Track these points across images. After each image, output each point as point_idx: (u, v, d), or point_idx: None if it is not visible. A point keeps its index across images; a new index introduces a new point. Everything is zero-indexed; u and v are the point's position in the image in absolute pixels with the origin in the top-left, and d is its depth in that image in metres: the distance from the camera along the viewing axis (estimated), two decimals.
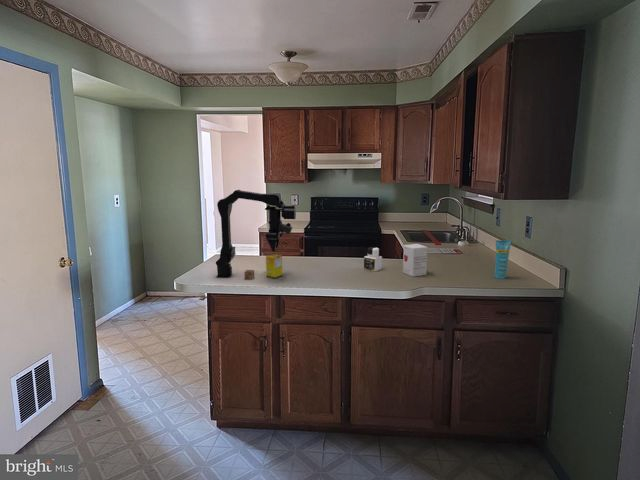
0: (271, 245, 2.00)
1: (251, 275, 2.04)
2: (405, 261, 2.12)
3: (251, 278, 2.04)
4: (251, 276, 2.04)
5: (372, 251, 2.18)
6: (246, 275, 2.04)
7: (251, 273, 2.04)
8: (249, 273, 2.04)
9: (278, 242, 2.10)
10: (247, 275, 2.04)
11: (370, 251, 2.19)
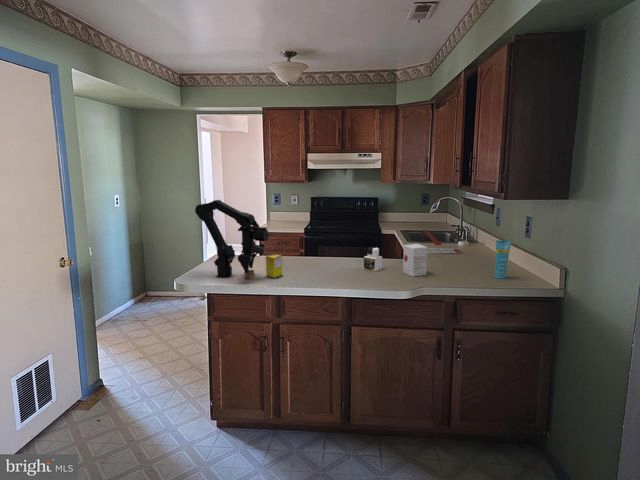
0: (244, 267, 2.00)
1: (251, 275, 2.04)
2: (405, 261, 2.12)
3: (251, 278, 2.04)
4: (251, 276, 2.04)
5: (372, 251, 2.18)
6: (246, 275, 2.04)
7: (251, 273, 2.04)
8: (248, 273, 2.04)
9: (252, 262, 2.10)
10: (247, 275, 2.04)
11: (370, 251, 2.19)
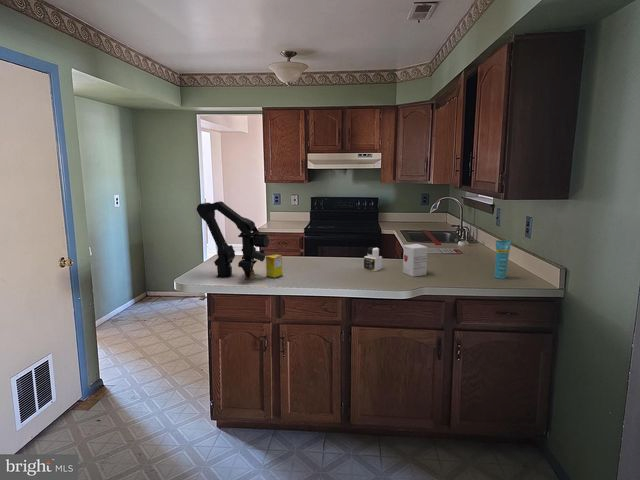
0: (245, 271, 2.03)
1: (251, 274, 2.04)
2: (405, 261, 2.12)
3: (251, 278, 2.04)
4: (251, 276, 2.04)
5: (372, 251, 2.18)
6: None
7: (251, 273, 2.04)
8: None
9: None
10: None
11: (370, 251, 2.19)
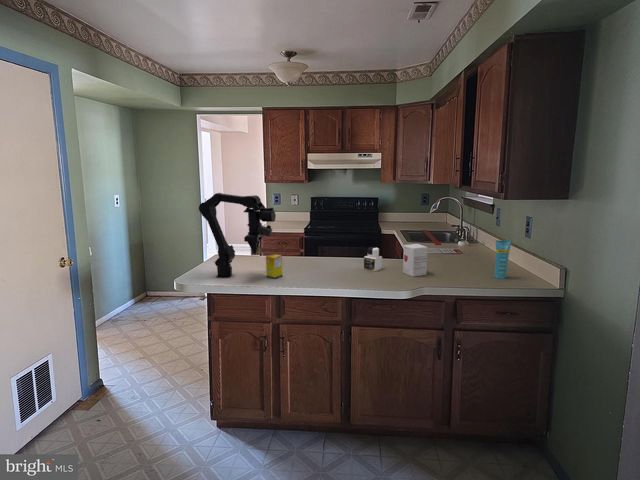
0: (252, 247, 2.01)
1: (257, 250, 2.02)
2: (405, 261, 2.12)
3: (257, 253, 2.03)
4: (257, 251, 2.02)
5: (372, 251, 2.18)
6: None
7: (257, 248, 2.02)
8: None
9: None
10: None
11: (370, 251, 2.19)
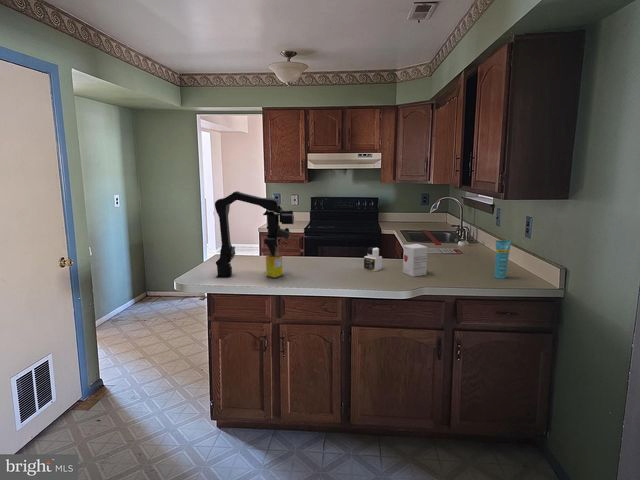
0: (270, 249, 2.04)
1: (275, 252, 2.05)
2: (405, 261, 2.12)
3: (276, 255, 2.05)
4: (276, 253, 2.05)
5: (372, 251, 2.18)
6: None
7: (276, 250, 2.05)
8: None
9: None
10: None
11: (370, 251, 2.19)
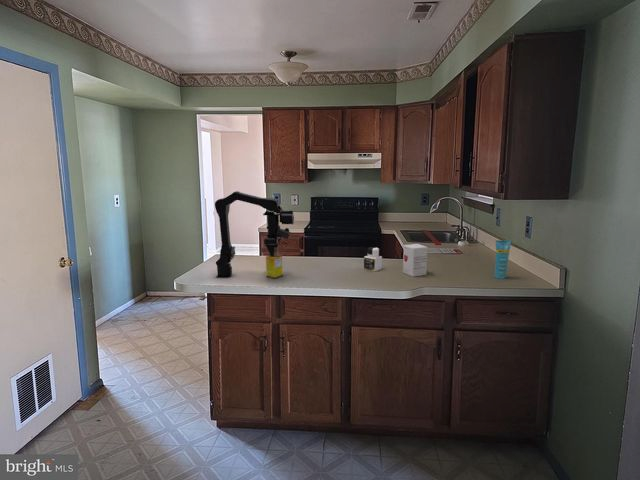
0: (270, 250, 2.01)
1: (275, 252, 2.05)
2: (405, 261, 2.12)
3: (276, 255, 2.05)
4: (276, 253, 2.05)
5: (372, 251, 2.18)
6: None
7: (276, 250, 2.05)
8: None
9: None
10: None
11: (370, 251, 2.19)
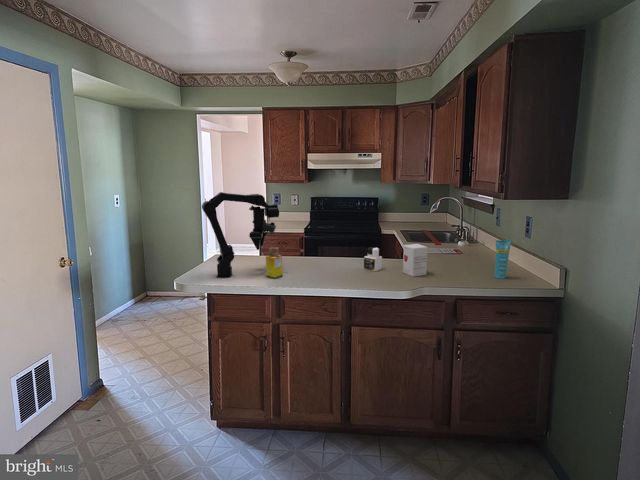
0: (255, 243, 2.10)
1: (276, 252, 2.05)
2: (405, 261, 2.12)
3: (276, 255, 2.05)
4: (276, 253, 2.05)
5: (372, 251, 2.18)
6: (271, 252, 2.05)
7: (276, 250, 2.05)
8: (273, 249, 2.05)
9: (263, 241, 2.20)
10: (271, 252, 2.05)
11: (370, 251, 2.19)
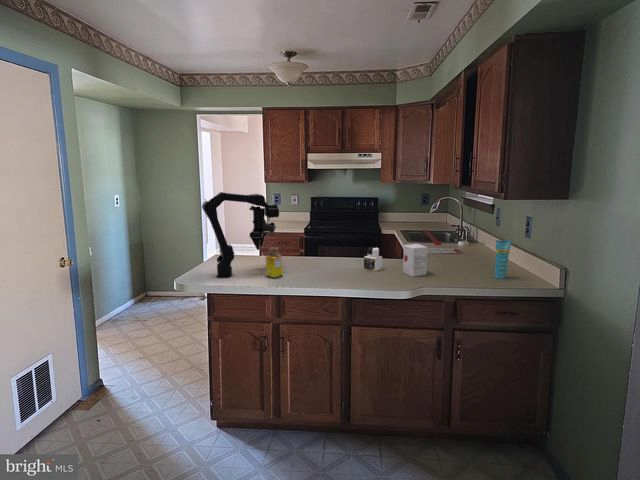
0: (255, 243, 2.10)
1: (276, 252, 2.05)
2: (405, 261, 2.12)
3: (276, 255, 2.05)
4: (276, 253, 2.05)
5: (372, 251, 2.18)
6: (271, 252, 2.05)
7: (276, 250, 2.05)
8: (273, 249, 2.05)
9: (263, 240, 2.20)
10: (271, 252, 2.05)
11: (370, 251, 2.19)
